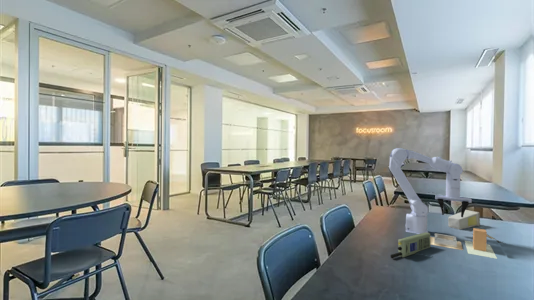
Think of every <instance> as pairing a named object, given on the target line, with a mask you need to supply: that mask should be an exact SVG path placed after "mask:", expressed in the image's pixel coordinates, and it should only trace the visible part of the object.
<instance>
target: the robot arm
mask: <svg viewBox="0 0 534 300" xmlns="http://www.w3.org/2000/svg"><path fill="white" fill-rule="evenodd" d="M406 159H408V160H410V159H414V160H417V161H420V162H423V163H425V164H429V167H431V168H432V169H435V170H438V171H440V172H443V173H445V174H446V177H445V195H443V194H435V197H434V199H435V200H437V202H438V205H439V208H440V210H441V215H443V216H444V215H445V213H444V212H445V211H444V204H445V202H444V201H453V202H461V211H460V212H461V217H463V215H464V212H465V210H467V208H468V206H469V204H470V203H471V204H472V198H471V197H466V196H465V197H464V196H461V175H462V174H463V172H464V169H463V167H462V165H461V164H459V163H455V162H453V161H452V160H447V159H444V158H443V156H433V157H431V156H427V155H425V154H423V153H420V152H417V151H414V150H411V149H405V148H402V147H395V148H393V149H392V150H391V152H390V155H389V165H388V169H389V170H390V172H391V174H392V175H393V177H394V178H395V180H396V182H397V183H398V185H399V187H400V189H401V190H402V191H403V193H404V195H405V197H406V198H407V201H408V203H409V206H410V209H411V212H410V213H406V215H405V232H406V233H412V234H416V235H417V234H421V233H425V232H427V233H429V231H428V213H429V206H428V205H426V203H424V202H423V201H422V199H421V198H420V197H419V196H418V194H417V192H416V191H415V189H414V188H413V185H412V184H411V183H410V181H409V180H408V178H407V176H406V175H405V173H404V172H403V170H402V165H403V162H405V160H406Z"/></svg>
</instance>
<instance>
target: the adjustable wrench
mask: <svg viewBox="0 0 534 300" xmlns="http://www.w3.org/2000/svg"><path fill="white" fill-rule="evenodd" d="M476 228H477V229H479V228H478V227H476ZM487 238H489V239H490V240H491V239H492V240H496V242H497V243H499V244H503V241H500V240H497V239H496V238H495V237H493V236H491V235H489V234H487ZM504 244H507V243H506V242H504Z"/></svg>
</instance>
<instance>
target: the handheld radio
mask: <svg viewBox="0 0 534 300" xmlns="http://www.w3.org/2000/svg"><path fill="white" fill-rule="evenodd" d="M430 237H431V233H430V232H428V233H427V232H425V233H421V234H417V233H416V234H414V235H410V236H406V237H403V238H399V239H397V241H398V243H397V246H398V247H397V251H398V252H396V253H391V254H390V258H391V259H394V258H395V259H396V258H398V257H400V258H401V257H402V258H406V257H408V256H412V255H415V254H417V253H418V252H420V251H423V250H426V249H430V248H431V242H430Z"/></svg>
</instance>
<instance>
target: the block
mask: <svg viewBox="0 0 534 300" xmlns="http://www.w3.org/2000/svg"><path fill="white" fill-rule="evenodd" d="M480 218H481V217H480V212H479V211H474V210H468V209H466V210H465V212H464V215H463V217H461V211H460V212H457V213H455V214H453V215H449V216H448V218H447V221H448V222H447V223H448V228H452V229H455V230H464V229H468V228H472V227H473V228H474V227H481V220H480Z"/></svg>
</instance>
